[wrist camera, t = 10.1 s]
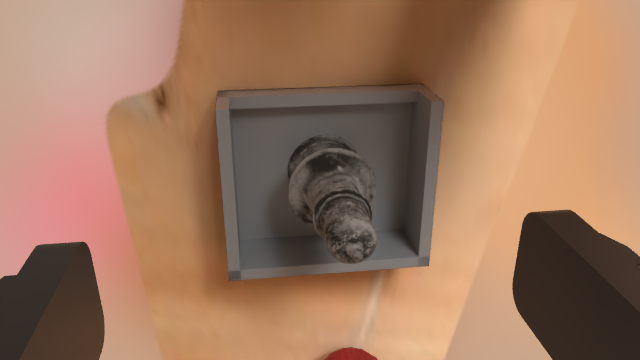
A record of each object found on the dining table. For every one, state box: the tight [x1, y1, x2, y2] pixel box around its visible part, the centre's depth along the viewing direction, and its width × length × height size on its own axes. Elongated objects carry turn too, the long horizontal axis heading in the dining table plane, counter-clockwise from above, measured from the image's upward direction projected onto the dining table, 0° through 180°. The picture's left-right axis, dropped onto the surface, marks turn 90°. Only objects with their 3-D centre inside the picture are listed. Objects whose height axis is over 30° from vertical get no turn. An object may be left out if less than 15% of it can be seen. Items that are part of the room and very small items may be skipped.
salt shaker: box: [288, 135, 377, 264], centre depth 34 cm, size 6×6×12 cm
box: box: [215, 84, 444, 281], centre depth 38 cm, size 12×14×4 cm
